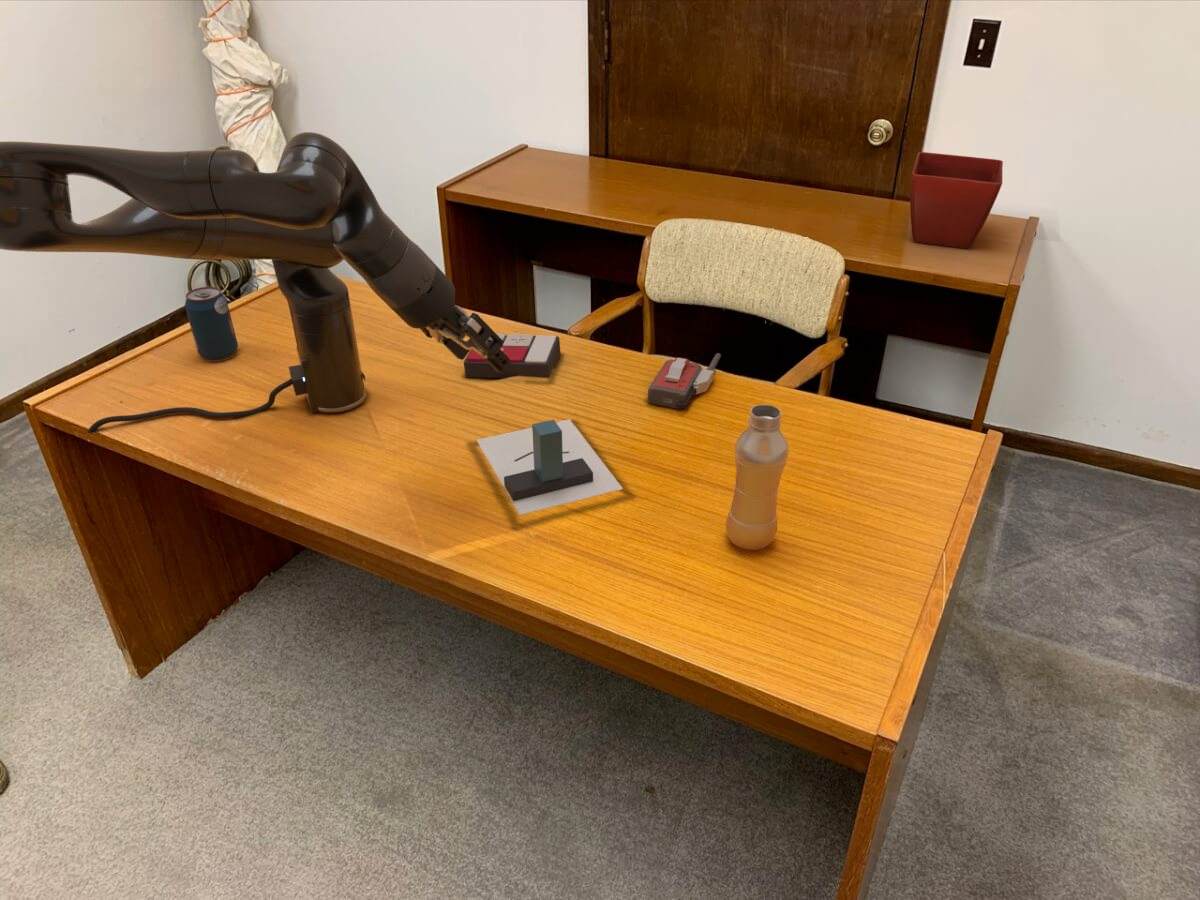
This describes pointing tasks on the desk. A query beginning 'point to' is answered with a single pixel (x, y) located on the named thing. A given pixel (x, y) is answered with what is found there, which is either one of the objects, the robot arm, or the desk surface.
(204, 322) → the soda can
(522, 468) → the whiteboard
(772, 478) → the plastic bottle
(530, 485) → the eraser
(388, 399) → the desk surface
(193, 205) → the robot arm
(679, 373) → the walkie-talkie
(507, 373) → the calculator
